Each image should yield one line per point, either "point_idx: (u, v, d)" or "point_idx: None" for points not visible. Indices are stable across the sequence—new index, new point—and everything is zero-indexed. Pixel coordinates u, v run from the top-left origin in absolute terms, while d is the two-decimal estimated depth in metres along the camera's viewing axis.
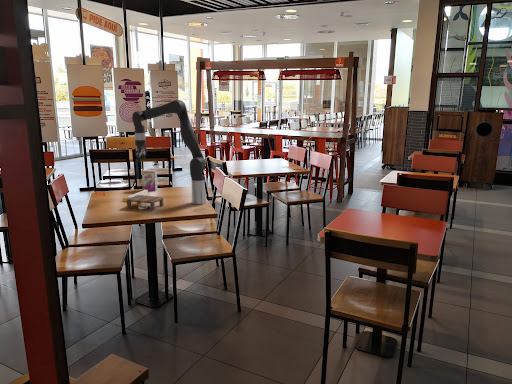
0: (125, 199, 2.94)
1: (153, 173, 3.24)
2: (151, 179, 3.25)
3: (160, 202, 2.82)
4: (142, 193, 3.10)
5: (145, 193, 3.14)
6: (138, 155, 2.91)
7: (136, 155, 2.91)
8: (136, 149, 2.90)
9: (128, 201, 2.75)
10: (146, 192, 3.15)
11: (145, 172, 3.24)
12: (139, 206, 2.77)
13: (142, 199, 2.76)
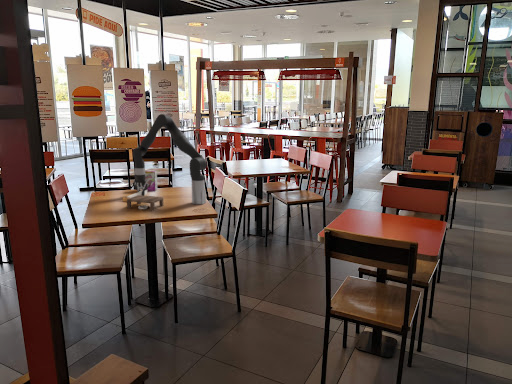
0: (125, 199, 2.94)
1: (153, 173, 3.24)
2: (151, 179, 3.25)
3: (160, 202, 2.82)
4: None
5: (145, 193, 3.14)
6: (146, 189, 3.10)
7: (145, 189, 3.09)
8: (147, 185, 3.08)
9: (128, 201, 2.75)
10: (145, 191, 3.15)
11: (145, 172, 3.24)
12: (139, 206, 2.77)
13: (142, 199, 2.76)
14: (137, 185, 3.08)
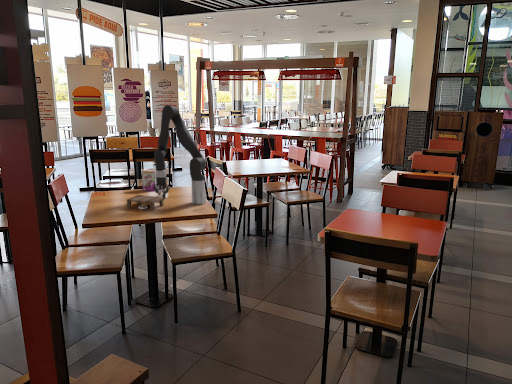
0: None
1: (153, 173, 3.24)
2: (151, 179, 3.25)
3: (160, 202, 2.82)
4: (162, 196, 3.00)
5: (165, 196, 3.04)
6: (167, 192, 3.00)
7: (166, 192, 2.99)
8: (168, 188, 2.98)
9: (128, 201, 2.75)
10: (166, 194, 3.05)
11: (145, 172, 3.24)
12: (139, 206, 2.77)
13: (142, 199, 2.76)
14: (158, 188, 2.99)
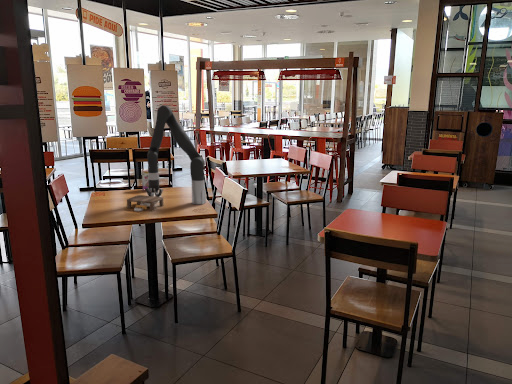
0: (138, 206, 2.76)
1: None
2: None
3: (160, 202, 2.82)
4: None
5: None
6: (160, 195, 2.91)
7: (159, 195, 2.89)
8: (161, 191, 2.88)
9: (128, 201, 2.75)
10: None
11: (145, 172, 3.24)
12: (135, 208, 2.72)
13: (142, 199, 2.76)
14: (150, 191, 2.89)
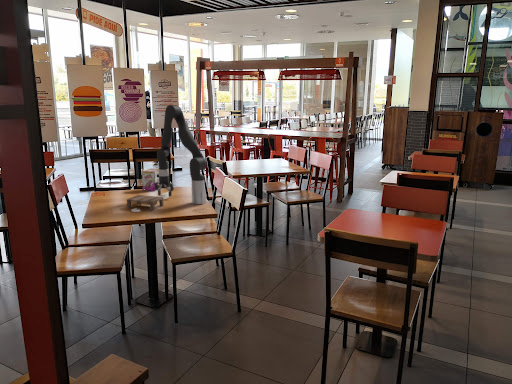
0: None
1: (153, 173, 3.24)
2: (151, 179, 3.25)
3: (160, 202, 2.82)
4: (165, 195, 3.04)
5: (168, 195, 3.08)
6: (173, 189, 3.04)
7: (172, 190, 3.02)
8: (172, 184, 3.01)
9: (128, 201, 2.75)
10: None
11: (145, 172, 3.24)
12: (132, 209, 2.69)
13: (142, 199, 2.76)
14: (160, 186, 3.03)
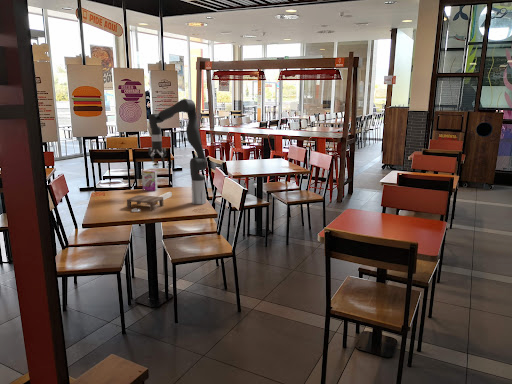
0: None
1: (153, 173, 3.24)
2: (151, 179, 3.25)
3: (160, 202, 2.82)
4: (166, 195, 3.04)
5: (169, 195, 3.08)
6: None
7: (165, 155, 3.08)
8: (165, 149, 3.07)
9: (128, 201, 2.75)
10: (170, 194, 3.09)
11: (145, 172, 3.24)
12: (132, 209, 2.69)
13: (142, 199, 2.76)
14: (153, 151, 3.08)
